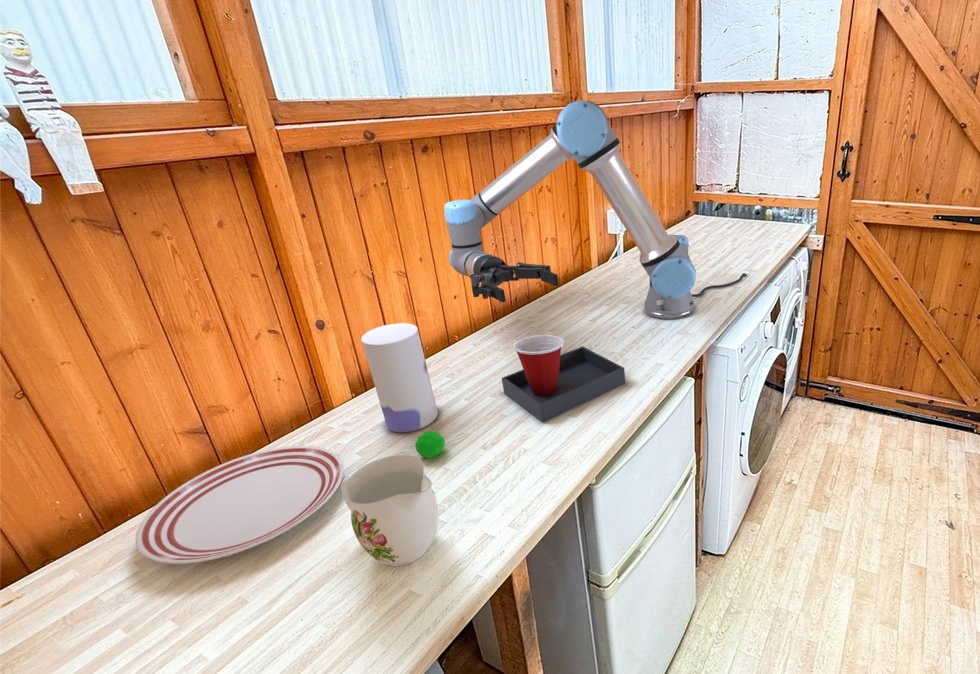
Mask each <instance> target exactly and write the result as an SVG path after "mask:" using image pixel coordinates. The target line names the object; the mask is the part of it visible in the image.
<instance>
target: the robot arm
mask: <svg viewBox="0 0 980 674" xmlns="http://www.w3.org/2000/svg"><path fill="white" fill-rule="evenodd" d="M621 145H622V143H621V142H620V140H619V138H618V136H617V134H616V133H615V131H614V130H613V128H612V126H611V125H610V122H609V120H608V117H607V114H606V113H605V111H604V110H603V108H602V107H601V106H600V105H598V104H597V103H595V102H593V101H591V100H590V101H589V100H581V99H579V100H574V101H572V102H570V103H568V104H567V105H566V106H565V107H564V108H562V110H561V111H560V112H559V114H558V117H557V121H556V124H554V126H552V127H551V128H550V133H549V135H548V136H546V137H545V138H544V139H543V140H542V141H540V142H539V143H538V144H537V145H536V146H534V147H533V148H532V149H531V150H529V151H528V152H527V153H526V154H525V155H523V156H522V157H521V158H520V159H518V160H517V161H516V162H514V164H512V165H511V166H510V167H509V168H507V169H506V170H505V171H504V172H502V173H501V174H500V175H499V176H498V177H496V178H495V179H493V181H492V182H490V183H489V184H487V186H485V187H484V188H483V189H482V190H480V191H479V192H478V193H477V194H475V195H474V196H473V197H472V198H471V199H456V200H452V201H447V202H446V203H445V204H444V206H443V209H444V219H445V222H446V225H447V230H448V235H449V239H450V244H451V250H450V251H449V256H448V261H449V264H450V266H451V268H452V269H453V270H455V271H456V272H457V273H459V274H460V275H461V276H465V277H468V278H469V279H470V283H471V291H472V297H473V298H478V297H480V295H481V296H482V299H483V300H487V299H489V298H492V299H495V300H496V301H498V302H500V303H506V302H507V299H506V294H505V289H503V288H501V287H499V286H500V285H502V284H503V283H508V282H518V281H519V280H540V281H541V282H544V283H547V284H548V285H551V286H554V287H559V277H558V274H557V273H555V272H553V271H552V268H551V265H548V264H547V265H546V264H535V263H524V262H517V263H516V265H508V264H507V263H506V262H505V261H504V260H503V259H502V258H500V257H497V256H495V255H493V254H491V253H487V252H485V251H484V249H483V248H484V247H483V241H482V236H481V230H482V229H483V228H484V227H485V226H486V225H488V224H489V223H490V222H491V221H493V220H494V219H495V218H496V217H498V215H500V214H501V213H502V212H504V211H506V210H507V208H509V207H510V206H511V205H513V204H514V203H515V202H516V201H517V200H519V199H520V198H521V197H522V196H524V195H525V194H527V193H528V192H529V191H530V190H532V189H533V188H534V187H535V186H537V184H540V182H542V181H543V180H545V178H547V177H548V176H549V175H550V174H552V173H553V172H554V171H556V170H557V169H558V168H559V167H560V166H562V165H563V164H564V163H566V162H567V161H568V160H573V161H575V163H576V164H577V166H578V168H579V169H580V171H583V172H588V173H590V175H591V176H592V178H593V180H594V181H595V183H596V184H597V186H598V188H599V189H600V191H601V193H602V194H603V195H604V197H605V199H606V200H607V202H608V203H609V206H610V207H611V208H612V210H613V212H614V213H615V214H616V216H617V218H618V219H619V221H620V222H621V224H622V225H623V227H624V228H625V231H626V232H627V233H628V235H629V237H630V238H631V240H632V241H633V243H634V244H635V246H636V248H637V249H638V251H639V252H640V254H639V263H640V264H641V266H642V267H643V269H644V271H645V272H646V274H647V275H648V279H649V288H648V291H647V295H646V297H645V298H646V299H645V301H644V312H645V314H646V315H648V316H649V317H652V318H654V319H660V320H677V319H682V318H686V317H688V316H690V315H692V314H693V313H694V312H695V302H694V298H699V297H701V296H702V295H704V293H705V291H707V290H711V289H717V288H725V287H730V286H733V285H735V284H738V283H739V282H741V281H742V280H743V278H744V277H748V275H747V273H745V272H743V273H742V274H741V275H740V277H739V278H738V279H736V280H734V281H732V282H728V283H725V284H724V283H723V284H714V285H709V286H706V287H704V288H703V289H702V290H701V291H700V292H699V293H693V294H692V292H691V290H692V289H693V287H694V286H695V283H696V279H697V277H696V276H697V275H696V273H697V272H696V268H695V266H694V264H693V261H692V260H691V257H690V255H689V246H690V243H689V239H688V237H687V236H686V235H683V234H669V233H668V232H667V230H666V229H665V227H664V226H663V223H662V221H660V219H659V216H658V215H657V214H656V212H655V210H654V209H653V207H652V205H651V204H650V202H649V200H648V198H647V197H646V195H645V193H644V192H643V190H642V189H641V187H640V185H639V184H638V182H637V180H636V178H635V176H634V175H633V173H632V172H631V170H630V168H629V167H628V165H627V164H626V162H625V161H624V159H623V157H622V156H621V153H620V151H621ZM514 276H515V277H514Z"/></svg>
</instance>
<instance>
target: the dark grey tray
mask: <svg viewBox="0 0 980 674" xmlns="http://www.w3.org/2000/svg"><path fill="white" fill-rule="evenodd" d="M501 383H502V389H503V394H504V395H505V396H507V397H508V398H509V399H511V400H512V401H513V402H514V403H516V404H517V405H518V406H520V407H521V408H523V409H524V410H525V411H526V412H528V413H529V414H531V416H533V417H534V418H536V419H537V420H538V421H540V422H541V423H545V422H547V421H549V420H550V419H553V418H556V417H557V416H559V415H561V414H563V413H566V412H567V411H570V410H572V409H574V408H576V407H578V406H580V405H583V404H585V403H587V402H589V401H591V400H593V399H596V398H597V397H600V396H602V395H604V394H606V393H608V392H610V391H612V390H615V389H616V388H618V387H620V386H624V385H625V384H626V373H625V367H624V366H622V365H620V364H617V363H616V362H614V361H611V360H610V359H609V358H606V357H604V356H602V355H601V354H598V353H597V352H594V351H592V350H590V349H589V348H587V347H585V346H579V347H577V348H574V349H572V350H569V351H566V352H563V353H561V354H560V366H559V376H558V387H557V391H556V392H555V393H553V394H551V395H548V396H536V395H534V394H533V393H532V391H531V389H530V386H529V383H528V381H527V378H526V375H525V373H524V370H523V369H521V370H518V371H516V372H513V373H511V374H507V375H505V376H503V377H501Z"/></svg>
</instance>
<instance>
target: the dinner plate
mask: <svg viewBox="0 0 980 674" xmlns="http://www.w3.org/2000/svg"><path fill="white" fill-rule="evenodd" d="M344 467H345V466H344V463H343V460H342V459H341V458H340V456H339V455H338V454H336V453H335V452H334V451H332V450H330V449H327V448H325V447H320V446H313V445H289V446H280V447H274V448H270V449H264V450H261V451H257V452H253V453H250V454H247V455H243V456H241V457H237V458H235V459H232V460H229V461H227V462H224V463H222V464H219V465H217V466H215V467H212V468H211V469H208V470H206V471H205V472H202V473H200V474H199V475H197V476H194V477H193V478H191V479H190V480H188V481H186V482H185V483H183V484H181V485H179V486H178V487H177V488H176V489H174V490H172V491H171V492H169V494H167V495H166V496H165V497H164V498H162V499H161V500H160V501H159V502H157V503H156V504H155V505H154V506H153V507H152V508H151V510H150V511H149V512H148V513H147V514H145V515H146V516H145V517H144V518H143V519H142V521H141V523H140V524H139V526H138V528H137V531H136V535H135V545H136V548H137V550H138V552H139V553H140V554H141V555H142V556H143V557H145V558H147V559H148V560H151V561H153V562H157V563H162V564H169V565H183V564H185V565H186V564H196V563H201V562H208V561H213V560H217V559H221V558H225V557H228V556H232V555H235V554H239V553H241V552H244V551H247V550H249V549H252V548H254V547H257V546H260V545H262V544H264V543H266V542H268V541H271V540H273V539H274V538H276V537H278V536H280V535H282V534H284V533H286V532H287V531H289V530H291V529H292V528H294V527H295V526H297V525H299V524H300V523H301V522H303V521H305V520H306V519H307V518H309V517H310V516H312V515H313V514H314V513H316V512H317V511H318V510H319V509H320V508H321V507H323V506H324V505H325V504H326V503H327V502H328V501H329V500H330V499H331V498H332V496H333V495H334V494H335V492H336V491H337V489H338V488H339V486H340V485H341V484H342V481H343V477H344V473H345V468H344Z"/></svg>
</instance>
